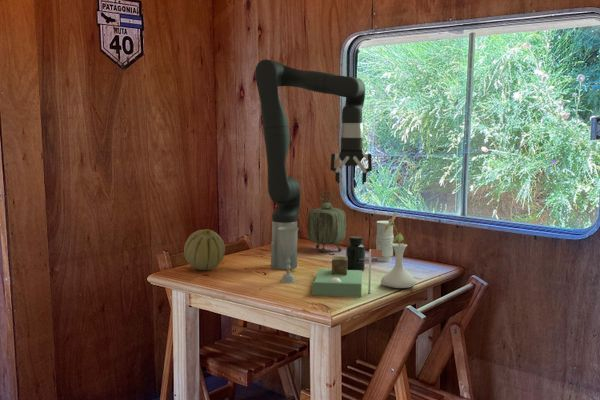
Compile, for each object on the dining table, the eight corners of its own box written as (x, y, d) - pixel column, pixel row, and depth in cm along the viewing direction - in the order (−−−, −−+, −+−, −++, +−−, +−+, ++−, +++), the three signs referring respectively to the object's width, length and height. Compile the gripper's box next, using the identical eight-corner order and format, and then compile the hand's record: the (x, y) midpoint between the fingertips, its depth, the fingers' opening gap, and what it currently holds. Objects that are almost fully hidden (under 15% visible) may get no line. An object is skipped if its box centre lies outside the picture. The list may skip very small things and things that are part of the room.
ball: (326, 276, 192) (331, 283, 195) (326, 288, 190) (331, 295, 193) (339, 273, 191) (344, 280, 194) (339, 285, 188) (344, 292, 191)
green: (312, 295, 188) (312, 282, 187) (318, 275, 212) (318, 264, 211) (361, 296, 186) (361, 284, 185) (361, 277, 210) (362, 265, 210)
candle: (394, 261, 234) (395, 223, 232) (376, 261, 234) (377, 223, 233) (392, 257, 241) (393, 220, 239) (374, 257, 241) (375, 220, 239)
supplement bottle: (363, 272, 217) (364, 239, 216) (344, 271, 219) (345, 238, 217) (365, 267, 224) (366, 235, 222) (347, 266, 225) (347, 235, 224)
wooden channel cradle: (331, 274, 203) (331, 260, 203) (332, 270, 210) (332, 256, 209) (346, 275, 203) (346, 260, 202) (347, 270, 209) (347, 256, 208)
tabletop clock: (345, 251, 253) (346, 191, 250) (335, 255, 246) (336, 193, 243) (316, 247, 261) (316, 189, 258) (304, 250, 253) (305, 191, 250)
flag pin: (368, 293, 190) (369, 249, 188) (368, 293, 190) (369, 249, 189) (380, 293, 189) (382, 249, 188) (380, 293, 190) (381, 249, 188)
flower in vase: (392, 280, 207) (394, 207, 204) (422, 285, 199) (424, 210, 196) (371, 287, 197) (373, 211, 194) (402, 294, 189) (404, 214, 186)
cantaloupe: (202, 263, 229) (201, 224, 227) (233, 268, 222) (233, 227, 220) (175, 271, 217) (174, 229, 215) (207, 276, 209) (206, 233, 207)
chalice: (290, 285, 199) (291, 230, 197) (273, 282, 203) (273, 228, 200) (302, 280, 205) (303, 227, 203) (285, 277, 209) (286, 225, 207)
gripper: (330, 136, 206) (329, 184, 208) (372, 137, 204) (371, 185, 206) (331, 136, 213) (330, 182, 215) (372, 136, 212) (371, 182, 214)
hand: (350, 183), depth 211 cm, fingers open, 8 cm apart
